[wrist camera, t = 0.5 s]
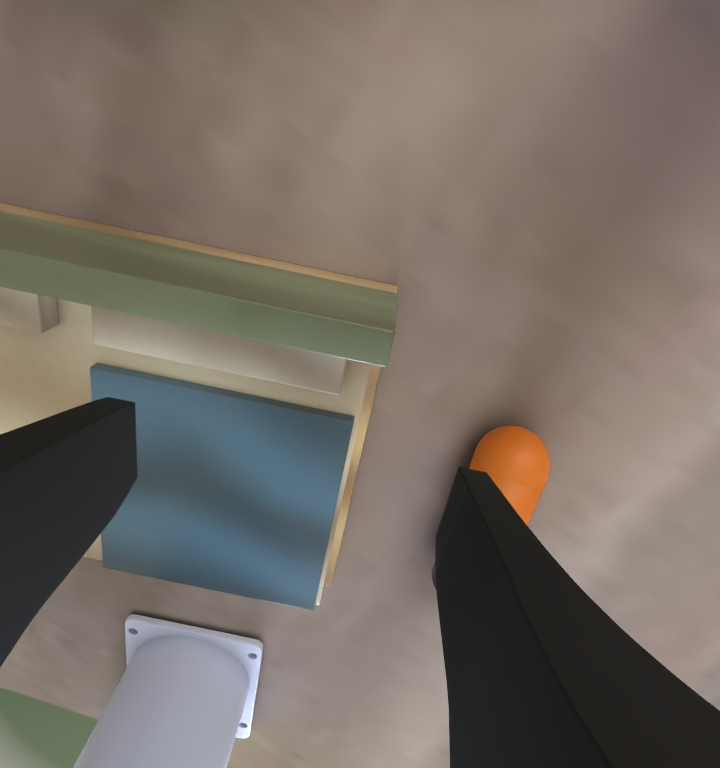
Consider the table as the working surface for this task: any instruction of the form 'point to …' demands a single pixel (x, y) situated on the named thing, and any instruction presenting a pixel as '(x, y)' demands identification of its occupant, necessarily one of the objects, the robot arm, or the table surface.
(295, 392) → the bed
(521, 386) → the table surface
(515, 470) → the orange capsule container
